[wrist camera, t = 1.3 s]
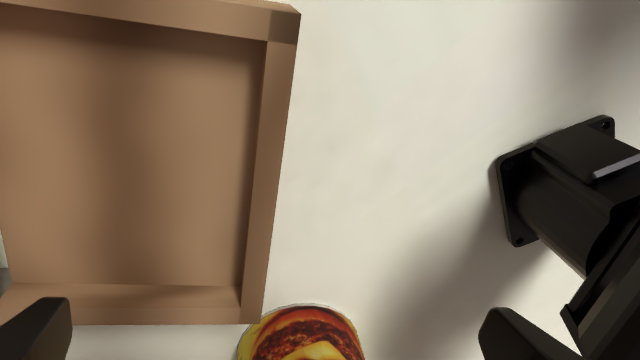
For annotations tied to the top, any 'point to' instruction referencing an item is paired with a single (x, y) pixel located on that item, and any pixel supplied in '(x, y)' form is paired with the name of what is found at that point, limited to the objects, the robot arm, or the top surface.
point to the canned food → (301, 335)
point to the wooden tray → (142, 155)
